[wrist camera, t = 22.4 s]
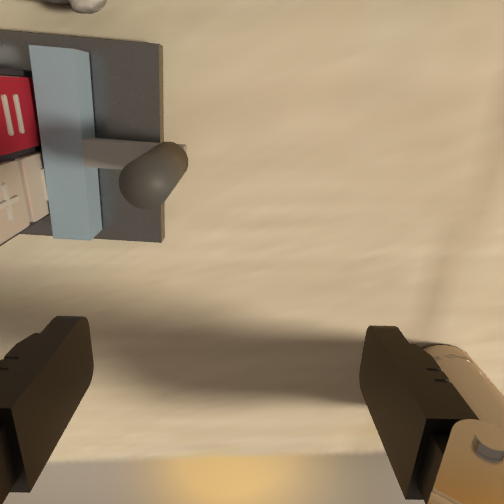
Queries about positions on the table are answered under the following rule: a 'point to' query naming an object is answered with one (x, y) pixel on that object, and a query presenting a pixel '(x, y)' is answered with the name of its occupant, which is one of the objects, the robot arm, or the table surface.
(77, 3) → the dish
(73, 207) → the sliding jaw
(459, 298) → the table surface
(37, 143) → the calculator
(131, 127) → the vise
